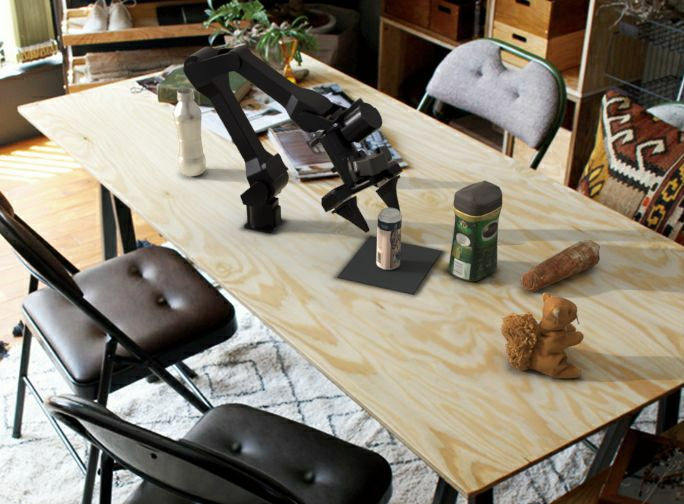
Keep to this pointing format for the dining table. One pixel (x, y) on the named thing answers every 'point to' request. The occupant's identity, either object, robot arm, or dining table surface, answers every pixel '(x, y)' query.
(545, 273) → the cassava root
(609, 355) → the dining table surface
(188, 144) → the plastic bottle
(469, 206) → the coffee jar
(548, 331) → the stuffed squirrel
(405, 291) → the mat
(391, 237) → the beer can
